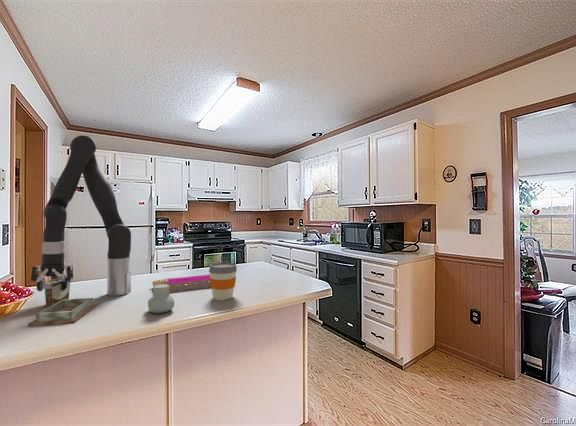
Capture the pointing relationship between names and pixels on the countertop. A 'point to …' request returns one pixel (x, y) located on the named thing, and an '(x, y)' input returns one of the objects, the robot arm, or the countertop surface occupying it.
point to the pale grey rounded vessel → (160, 299)
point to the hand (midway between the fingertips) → (52, 290)
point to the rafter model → (173, 282)
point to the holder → (64, 312)
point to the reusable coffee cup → (222, 280)
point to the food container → (55, 291)
